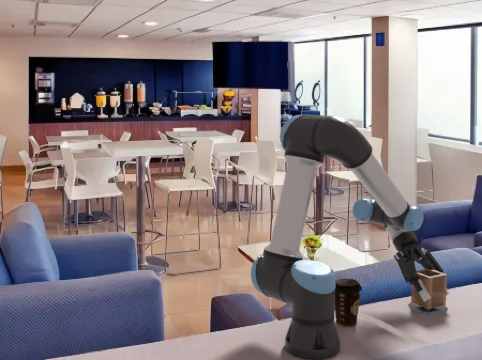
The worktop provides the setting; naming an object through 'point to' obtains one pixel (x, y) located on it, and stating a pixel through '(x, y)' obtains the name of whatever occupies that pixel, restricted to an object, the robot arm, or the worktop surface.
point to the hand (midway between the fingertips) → (437, 297)
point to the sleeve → (431, 288)
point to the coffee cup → (347, 301)
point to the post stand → (427, 311)
